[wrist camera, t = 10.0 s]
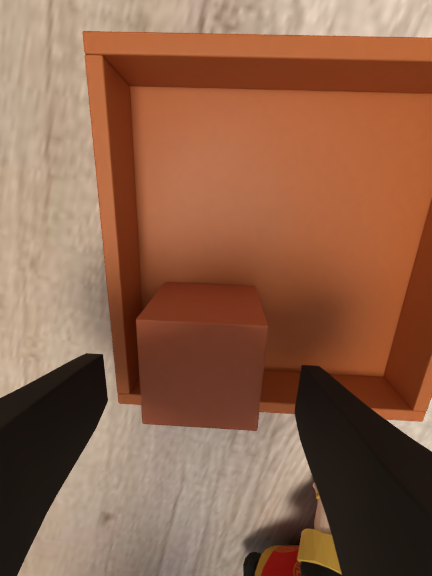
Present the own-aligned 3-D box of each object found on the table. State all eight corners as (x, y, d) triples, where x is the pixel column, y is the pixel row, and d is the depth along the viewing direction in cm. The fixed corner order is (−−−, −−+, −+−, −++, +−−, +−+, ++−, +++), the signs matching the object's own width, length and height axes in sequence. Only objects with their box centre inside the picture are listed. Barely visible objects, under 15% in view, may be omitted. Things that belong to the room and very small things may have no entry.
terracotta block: (248, 363, 15) (257, 431, 10) (166, 359, 15) (142, 424, 10) (255, 285, 13) (268, 326, 9) (164, 281, 13) (134, 319, 9)
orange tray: (387, 381, 15) (423, 422, 12) (137, 367, 15) (118, 404, 13) (471, 80, 11) (557, 38, 8) (118, 72, 11) (81, 30, 8)
